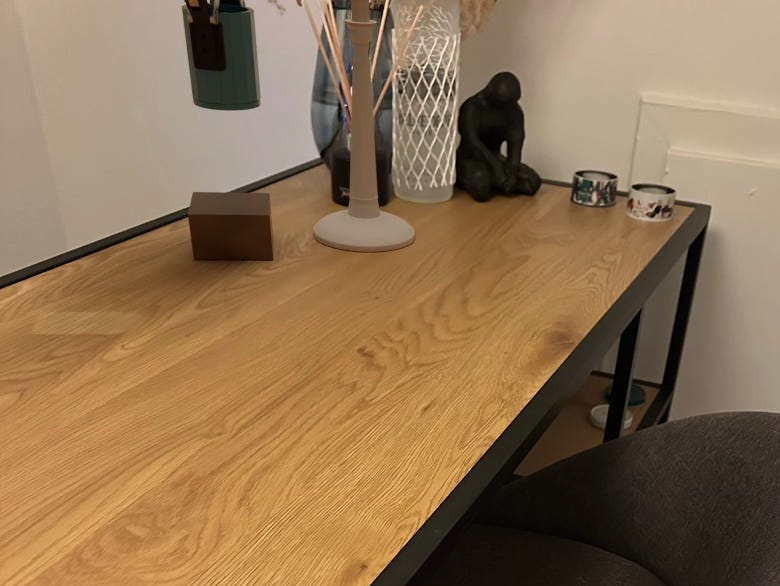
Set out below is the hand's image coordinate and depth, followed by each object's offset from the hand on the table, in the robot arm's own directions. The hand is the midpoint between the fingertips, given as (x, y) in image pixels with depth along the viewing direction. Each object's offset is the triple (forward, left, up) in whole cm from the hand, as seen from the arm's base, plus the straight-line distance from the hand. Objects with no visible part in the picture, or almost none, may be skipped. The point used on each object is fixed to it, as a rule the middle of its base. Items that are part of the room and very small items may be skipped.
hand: (222, 62), depth 97 cm
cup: (0, 0, -4) cm, 4 cm away
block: (-2, +3, -20) cm, 20 cm away
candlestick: (+12, +12, -20) cm, 26 cm away
